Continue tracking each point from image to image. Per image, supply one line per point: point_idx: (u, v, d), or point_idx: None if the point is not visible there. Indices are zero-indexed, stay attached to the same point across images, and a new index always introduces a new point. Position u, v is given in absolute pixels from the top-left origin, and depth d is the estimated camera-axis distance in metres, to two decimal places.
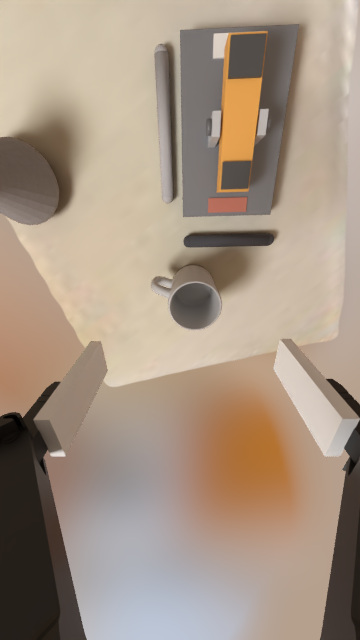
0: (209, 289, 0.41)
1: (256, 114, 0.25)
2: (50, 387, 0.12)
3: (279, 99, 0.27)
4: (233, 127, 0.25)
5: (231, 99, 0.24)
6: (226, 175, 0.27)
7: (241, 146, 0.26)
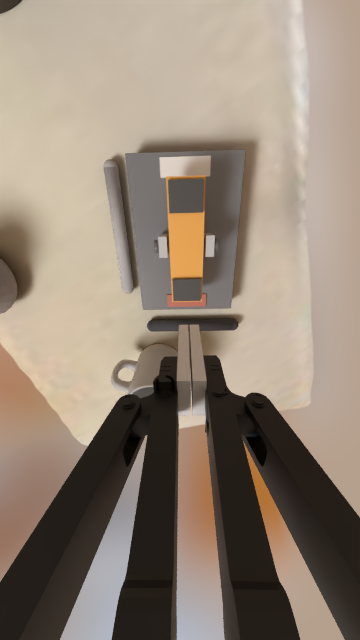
0: None
1: (202, 241, 0.24)
2: (163, 360, 0.14)
3: (231, 212, 0.27)
4: (180, 251, 0.25)
5: (175, 229, 0.23)
6: (177, 290, 0.27)
7: (190, 266, 0.26)
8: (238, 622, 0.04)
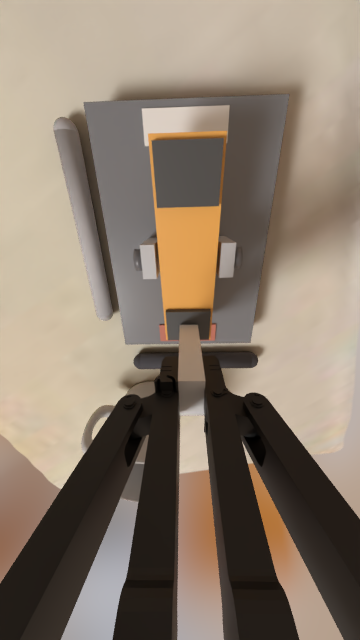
0: None
1: (214, 254, 0.14)
2: (164, 360, 0.14)
3: (258, 204, 0.17)
4: (177, 270, 0.15)
5: (168, 234, 0.13)
6: (173, 326, 0.17)
7: (193, 292, 0.16)
8: (237, 622, 0.04)
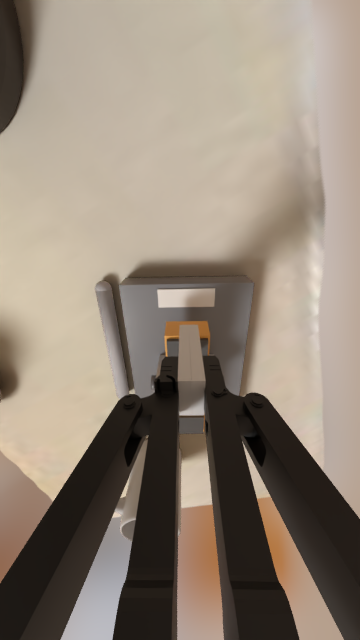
0: None
1: None
2: (164, 360, 0.14)
3: (237, 337, 0.24)
4: None
5: None
6: None
7: None
8: (237, 622, 0.04)
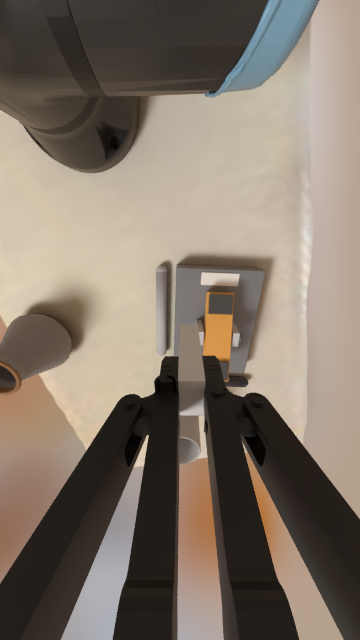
0: None
1: (230, 333, 0.32)
2: (164, 360, 0.14)
3: (251, 309, 0.35)
4: (213, 339, 0.33)
5: (211, 324, 0.32)
6: None
7: (220, 351, 0.33)
8: (237, 622, 0.04)
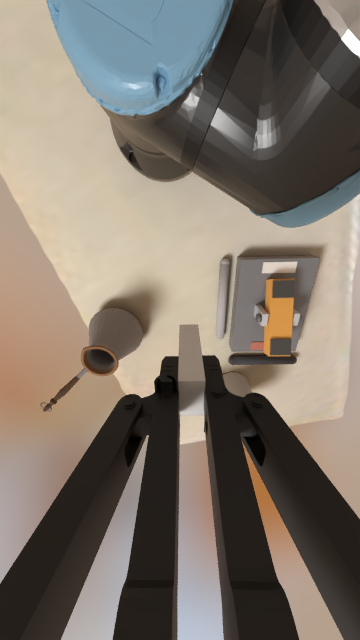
0: None
1: (292, 314, 0.37)
2: (164, 360, 0.14)
3: (305, 292, 0.40)
4: (277, 320, 0.37)
5: (274, 306, 0.37)
6: (274, 347, 0.38)
7: (283, 330, 0.38)
8: (237, 622, 0.04)
